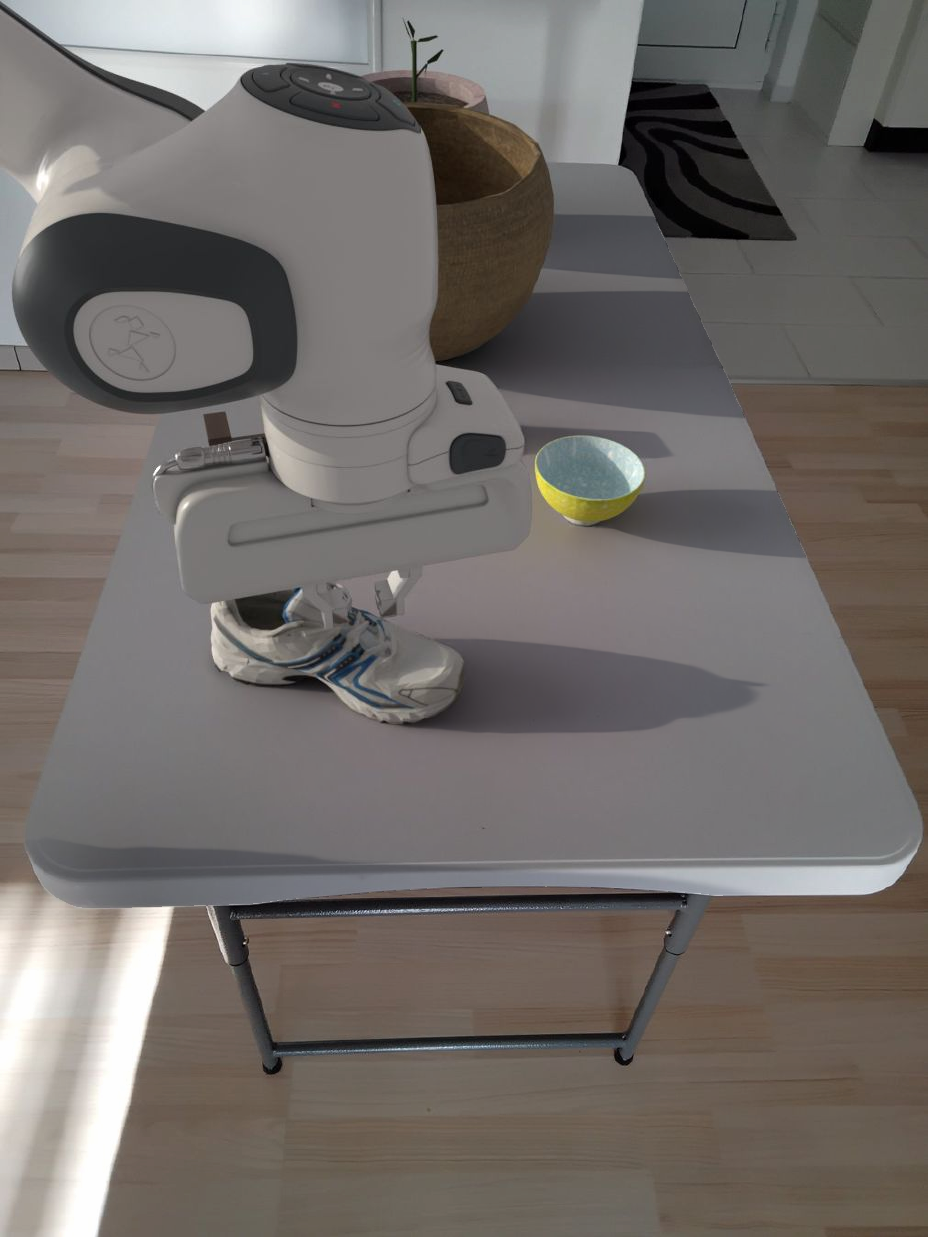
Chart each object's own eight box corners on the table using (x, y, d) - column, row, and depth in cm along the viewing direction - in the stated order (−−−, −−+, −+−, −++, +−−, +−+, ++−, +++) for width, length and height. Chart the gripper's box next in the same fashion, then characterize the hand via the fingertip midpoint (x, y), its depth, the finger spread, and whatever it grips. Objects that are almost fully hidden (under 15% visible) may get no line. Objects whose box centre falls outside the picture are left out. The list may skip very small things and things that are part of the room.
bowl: (609, 473, 104) (617, 427, 100) (653, 537, 97) (664, 489, 92) (515, 489, 102) (519, 442, 97) (553, 555, 94) (559, 508, 90)
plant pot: (484, 270, 140) (495, 44, 119) (328, 260, 141) (311, 34, 119) (492, 208, 157) (504, 1, 136) (353, 199, 158) (342, -8, 136)
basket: (530, 280, 139) (557, 102, 120) (534, 423, 116) (569, 231, 97) (295, 256, 137) (286, 72, 119) (252, 396, 114) (232, 196, 95)
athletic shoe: (459, 737, 77) (466, 615, 71) (192, 709, 79) (176, 587, 72) (472, 670, 85) (479, 556, 79) (231, 645, 87) (219, 532, 81)
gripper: (147, 493, 43) (197, 685, 53) (554, 433, 48) (530, 620, 58) (139, 420, 47) (187, 611, 57) (514, 371, 52) (499, 555, 62)
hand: (362, 615), depth 57 cm, fingers closed
